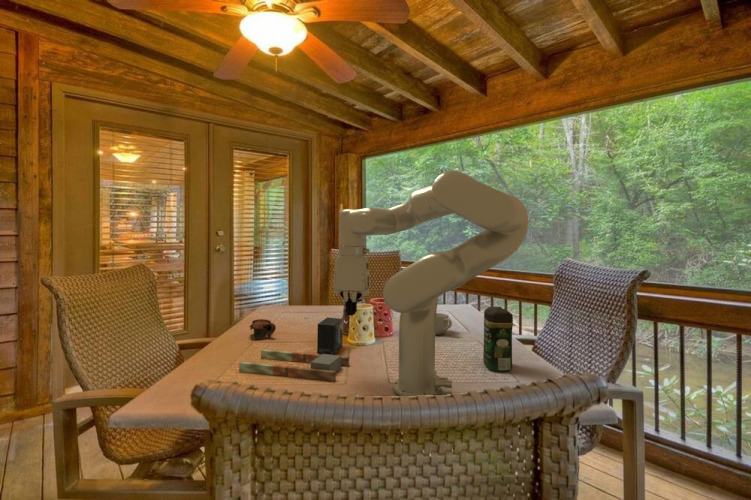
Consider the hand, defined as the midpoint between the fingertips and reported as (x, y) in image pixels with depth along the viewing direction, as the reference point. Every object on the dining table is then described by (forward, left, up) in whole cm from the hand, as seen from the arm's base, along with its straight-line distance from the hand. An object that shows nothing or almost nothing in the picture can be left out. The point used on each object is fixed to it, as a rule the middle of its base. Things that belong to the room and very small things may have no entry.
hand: (351, 314), depth 110 cm
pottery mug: (+45, -28, -18) cm, 56 cm away
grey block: (+8, 0, -18) cm, 19 cm away
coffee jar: (-42, -16, -18) cm, 49 cm away
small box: (+14, -19, -18) cm, 30 cm away
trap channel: (+18, 0, -18) cm, 25 cm away
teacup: (-21, -50, -18) cm, 58 cm away
